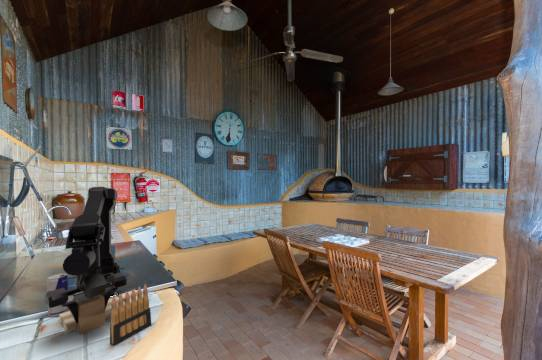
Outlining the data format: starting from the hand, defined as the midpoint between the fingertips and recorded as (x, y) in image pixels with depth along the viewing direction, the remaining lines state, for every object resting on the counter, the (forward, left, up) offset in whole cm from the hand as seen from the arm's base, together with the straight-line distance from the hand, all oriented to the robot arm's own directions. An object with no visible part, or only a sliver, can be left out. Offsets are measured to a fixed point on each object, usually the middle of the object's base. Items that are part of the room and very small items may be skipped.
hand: (90, 317), depth 76 cm
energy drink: (-18, -4, -3) cm, 19 cm away
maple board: (-7, +6, -2) cm, 9 cm away
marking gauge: (-4, 0, -3) cm, 5 cm away
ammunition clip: (+14, +6, -3) cm, 15 cm away
